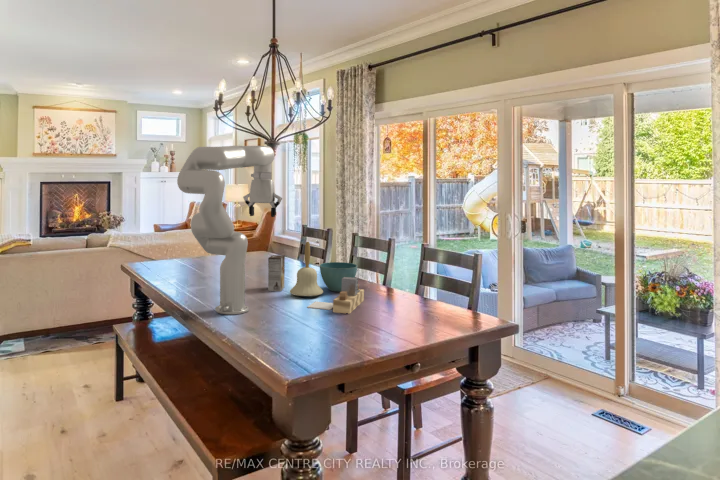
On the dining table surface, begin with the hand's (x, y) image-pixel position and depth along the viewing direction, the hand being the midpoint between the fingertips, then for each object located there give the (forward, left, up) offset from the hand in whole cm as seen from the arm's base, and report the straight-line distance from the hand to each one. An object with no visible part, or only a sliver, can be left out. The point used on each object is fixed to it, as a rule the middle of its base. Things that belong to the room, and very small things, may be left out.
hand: (262, 216), depth 212 cm
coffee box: (+19, +1, -37) cm, 41 cm away
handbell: (+12, -17, -37) cm, 42 cm away
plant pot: (+29, -27, -37) cm, 54 cm away
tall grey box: (0, -40, -31) cm, 51 cm away
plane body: (0, -40, -36) cm, 54 cm away
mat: (-4, -30, -36) cm, 47 cm away
